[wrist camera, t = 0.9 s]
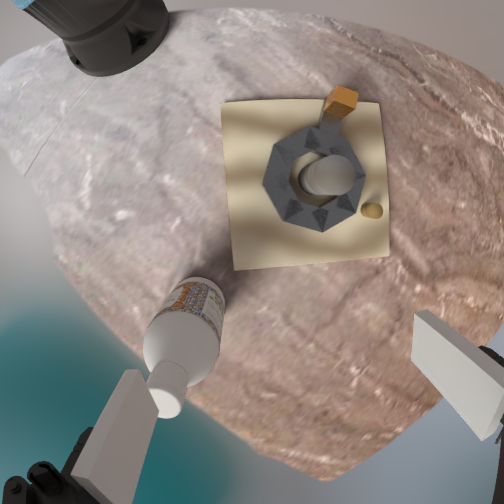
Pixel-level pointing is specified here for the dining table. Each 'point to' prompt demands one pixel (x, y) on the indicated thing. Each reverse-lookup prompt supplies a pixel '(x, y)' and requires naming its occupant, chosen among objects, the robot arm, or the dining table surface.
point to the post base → (259, 210)
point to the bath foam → (183, 342)
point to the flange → (323, 144)
